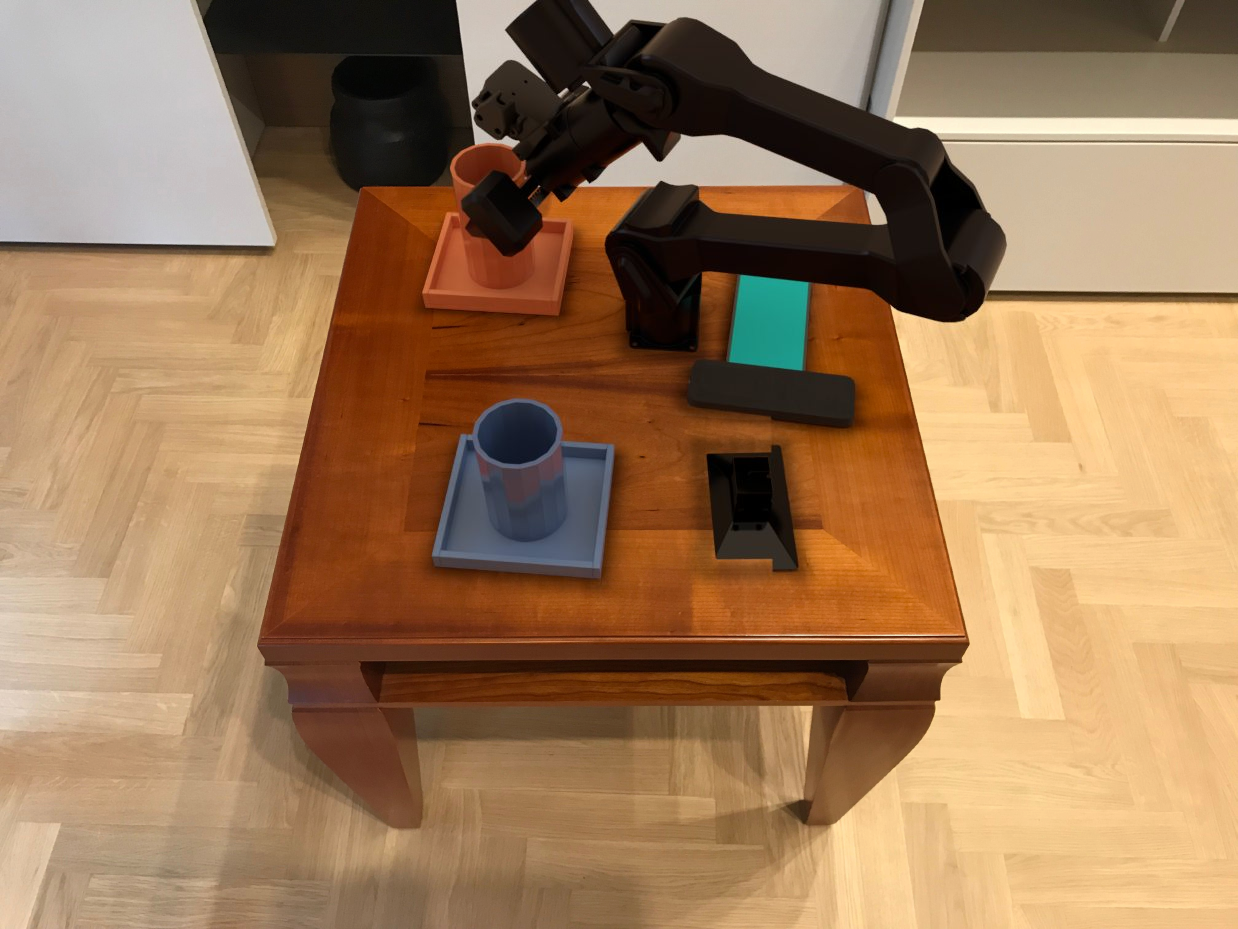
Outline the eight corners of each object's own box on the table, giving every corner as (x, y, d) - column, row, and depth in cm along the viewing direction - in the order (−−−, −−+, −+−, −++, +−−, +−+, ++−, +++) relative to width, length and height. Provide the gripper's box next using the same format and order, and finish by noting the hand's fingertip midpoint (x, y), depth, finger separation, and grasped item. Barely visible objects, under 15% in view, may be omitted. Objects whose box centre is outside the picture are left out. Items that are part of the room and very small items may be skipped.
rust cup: (548, 269, 95) (540, 168, 86) (493, 299, 93) (477, 198, 83) (509, 235, 98) (497, 133, 89) (454, 262, 96) (436, 161, 86)
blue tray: (614, 458, 82) (614, 444, 80) (600, 581, 74) (600, 568, 73) (463, 447, 82) (460, 433, 81) (435, 569, 75) (431, 555, 73)
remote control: (853, 388, 86) (690, 365, 87) (858, 376, 85) (692, 353, 86) (852, 432, 84) (684, 408, 85) (856, 421, 82) (686, 396, 83)
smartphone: (724, 373, 86) (739, 263, 95) (723, 379, 87) (738, 270, 95) (805, 383, 85) (813, 271, 94) (804, 389, 86) (811, 278, 95)
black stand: (798, 572, 75) (807, 541, 71) (706, 573, 75) (710, 543, 71) (780, 447, 82) (787, 413, 78) (696, 448, 82) (699, 414, 78)
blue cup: (572, 478, 80) (567, 401, 72) (563, 544, 76) (555, 471, 68) (495, 472, 80) (481, 395, 72) (481, 538, 76) (465, 464, 68)
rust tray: (573, 234, 99) (572, 218, 98) (558, 316, 92) (557, 300, 90) (449, 227, 100) (446, 211, 98) (425, 307, 93) (421, 292, 91)
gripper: (585, -7, 79) (489, 82, 91) (465, 108, 69) (374, 191, 81) (667, 102, 83) (565, 174, 95) (564, 225, 73) (464, 288, 85)
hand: (495, 202), depth 89 cm, fingers open, 9 cm apart
